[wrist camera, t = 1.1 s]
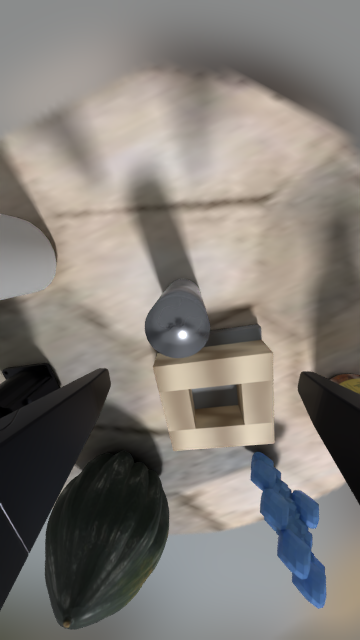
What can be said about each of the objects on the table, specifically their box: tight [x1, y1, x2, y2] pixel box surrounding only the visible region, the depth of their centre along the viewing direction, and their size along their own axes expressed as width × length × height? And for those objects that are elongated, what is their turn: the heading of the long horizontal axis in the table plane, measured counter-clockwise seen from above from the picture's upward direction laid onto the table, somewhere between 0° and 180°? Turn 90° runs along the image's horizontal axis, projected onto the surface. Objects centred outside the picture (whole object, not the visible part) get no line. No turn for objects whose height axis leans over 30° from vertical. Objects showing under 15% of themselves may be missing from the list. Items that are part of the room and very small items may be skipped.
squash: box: [45, 451, 169, 629], centre depth 25 cm, size 14×15×15 cm
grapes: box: [251, 452, 326, 608], centre depth 22 cm, size 12×7×12 cm, turn 31°
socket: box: [153, 324, 274, 451], centre depth 22 cm, size 12×15×4 cm
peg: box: [145, 279, 210, 358], centre depth 16 cm, size 4×4×10 cm
